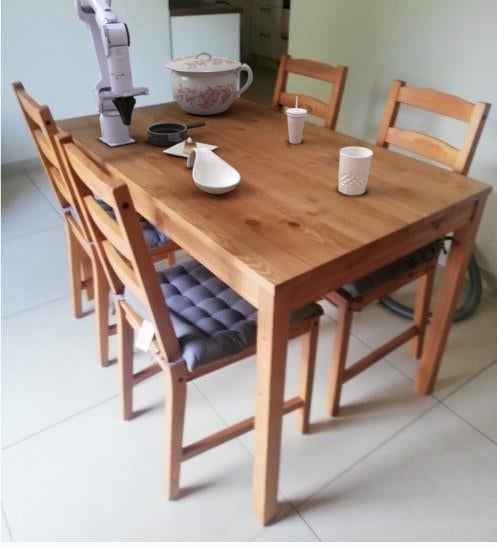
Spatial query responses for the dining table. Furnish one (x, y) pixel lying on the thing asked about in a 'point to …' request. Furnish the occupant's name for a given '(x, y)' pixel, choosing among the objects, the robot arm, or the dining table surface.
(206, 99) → the chamber pot
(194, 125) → the pan handle
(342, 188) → the white cup
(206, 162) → the spoon rest
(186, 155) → the dessert
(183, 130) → the pan
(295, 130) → the smoothie
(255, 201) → the dining table surface
